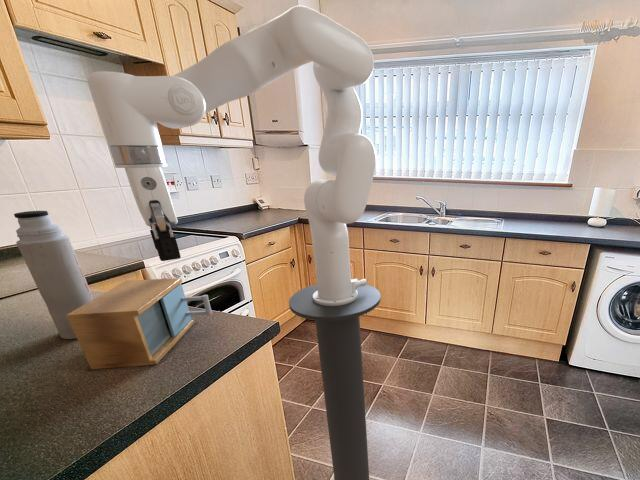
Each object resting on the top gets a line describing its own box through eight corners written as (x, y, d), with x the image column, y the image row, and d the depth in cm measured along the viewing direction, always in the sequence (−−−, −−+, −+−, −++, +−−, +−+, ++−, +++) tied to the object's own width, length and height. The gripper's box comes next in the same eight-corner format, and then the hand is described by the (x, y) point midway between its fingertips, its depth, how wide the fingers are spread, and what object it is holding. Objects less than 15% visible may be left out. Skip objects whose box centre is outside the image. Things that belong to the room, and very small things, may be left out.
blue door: (216, 317, 84) (207, 282, 80) (202, 335, 76) (191, 296, 72) (189, 319, 83) (178, 283, 79) (172, 337, 75) (159, 298, 71)
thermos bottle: (102, 319, 86) (56, 207, 74) (106, 330, 80) (57, 211, 69) (60, 330, 81) (3, 211, 69) (61, 342, 75) (0, 216, 64)
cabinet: (194, 323, 84) (181, 277, 79) (156, 364, 67) (137, 310, 63) (142, 326, 82) (125, 280, 77) (90, 369, 66) (65, 314, 61)
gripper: (171, 158, 54) (197, 260, 61) (160, 157, 67) (183, 242, 74) (111, 159, 50) (147, 268, 57) (112, 158, 62) (141, 247, 69)
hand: (167, 253), depth 65 cm, fingers open, 9 cm apart
